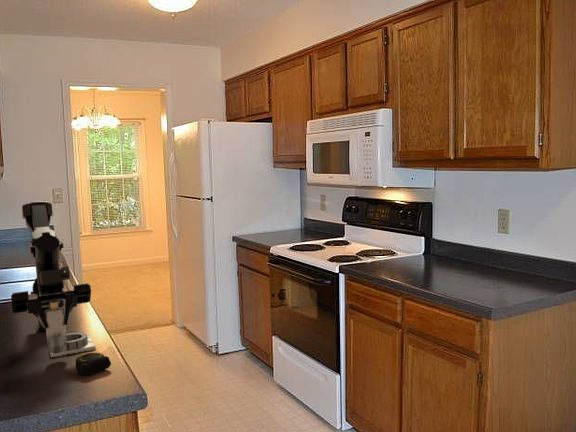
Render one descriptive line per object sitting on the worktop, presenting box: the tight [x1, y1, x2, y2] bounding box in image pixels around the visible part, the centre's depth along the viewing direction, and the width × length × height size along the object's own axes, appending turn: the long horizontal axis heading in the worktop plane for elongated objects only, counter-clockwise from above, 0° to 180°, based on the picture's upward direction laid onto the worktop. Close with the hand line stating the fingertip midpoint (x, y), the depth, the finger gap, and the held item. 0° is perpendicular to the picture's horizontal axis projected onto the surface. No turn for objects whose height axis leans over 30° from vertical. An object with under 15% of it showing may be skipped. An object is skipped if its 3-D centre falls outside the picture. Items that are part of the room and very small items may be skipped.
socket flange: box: [49, 332, 97, 359], centre depth 148 cm, size 11×11×3 cm
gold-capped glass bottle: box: [45, 301, 67, 354], centre depth 138 cm, size 4×4×12 cm
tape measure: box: [75, 352, 112, 376], centre depth 131 cm, size 7×7×4 cm
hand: (56, 326), depth 136 cm, fingers closed on gold-capped glass bottle, 4 cm apart
